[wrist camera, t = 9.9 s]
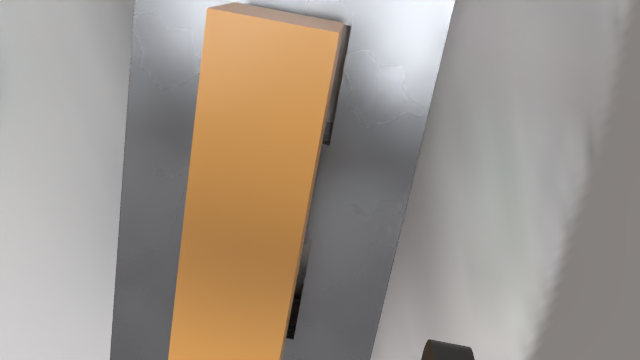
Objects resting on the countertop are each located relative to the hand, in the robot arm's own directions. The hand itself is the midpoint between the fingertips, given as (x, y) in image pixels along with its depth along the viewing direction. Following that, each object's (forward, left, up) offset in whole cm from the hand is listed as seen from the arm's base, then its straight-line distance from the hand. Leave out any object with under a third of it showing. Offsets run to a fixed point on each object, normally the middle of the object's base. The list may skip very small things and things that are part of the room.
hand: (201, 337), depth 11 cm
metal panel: (0, 0, -13) cm, 13 cm away
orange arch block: (0, 0, -12) cm, 12 cm away
